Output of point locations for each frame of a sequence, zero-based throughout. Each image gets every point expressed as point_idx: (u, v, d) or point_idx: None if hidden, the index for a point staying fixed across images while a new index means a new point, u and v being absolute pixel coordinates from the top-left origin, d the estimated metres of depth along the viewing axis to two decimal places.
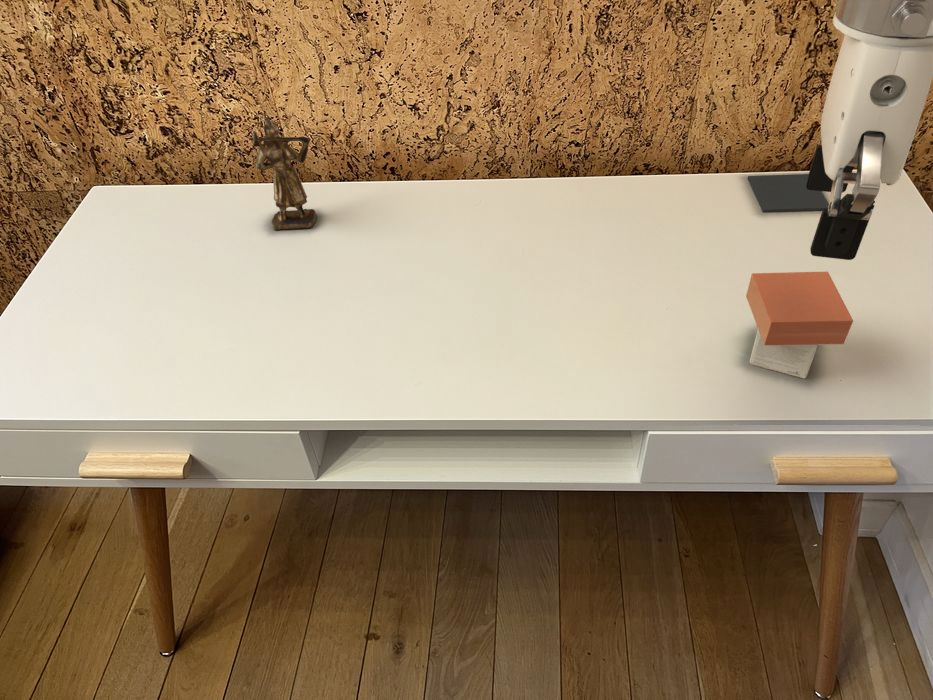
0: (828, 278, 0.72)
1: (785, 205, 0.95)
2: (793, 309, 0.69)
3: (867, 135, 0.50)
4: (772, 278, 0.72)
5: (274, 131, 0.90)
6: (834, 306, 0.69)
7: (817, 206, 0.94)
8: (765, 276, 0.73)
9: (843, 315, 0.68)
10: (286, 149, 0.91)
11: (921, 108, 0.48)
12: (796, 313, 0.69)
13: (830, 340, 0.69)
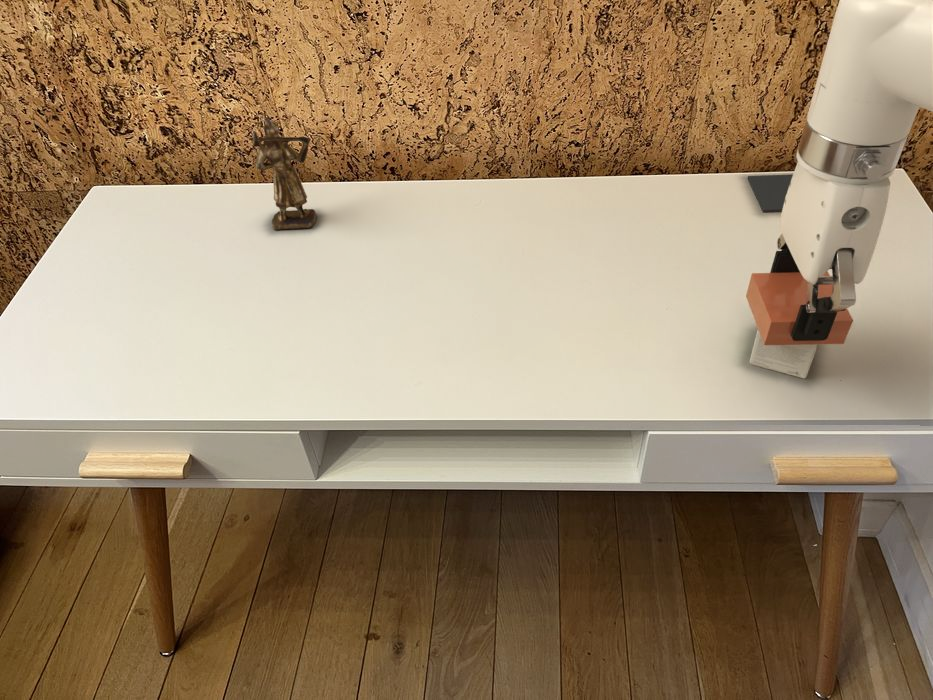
0: None
1: None
2: (793, 309, 0.69)
3: (839, 254, 0.61)
4: (772, 278, 0.72)
5: (274, 131, 0.90)
6: None
7: None
8: (765, 276, 0.73)
9: (843, 315, 0.68)
10: (286, 149, 0.91)
11: (880, 227, 0.59)
12: (796, 313, 0.69)
13: (830, 340, 0.69)
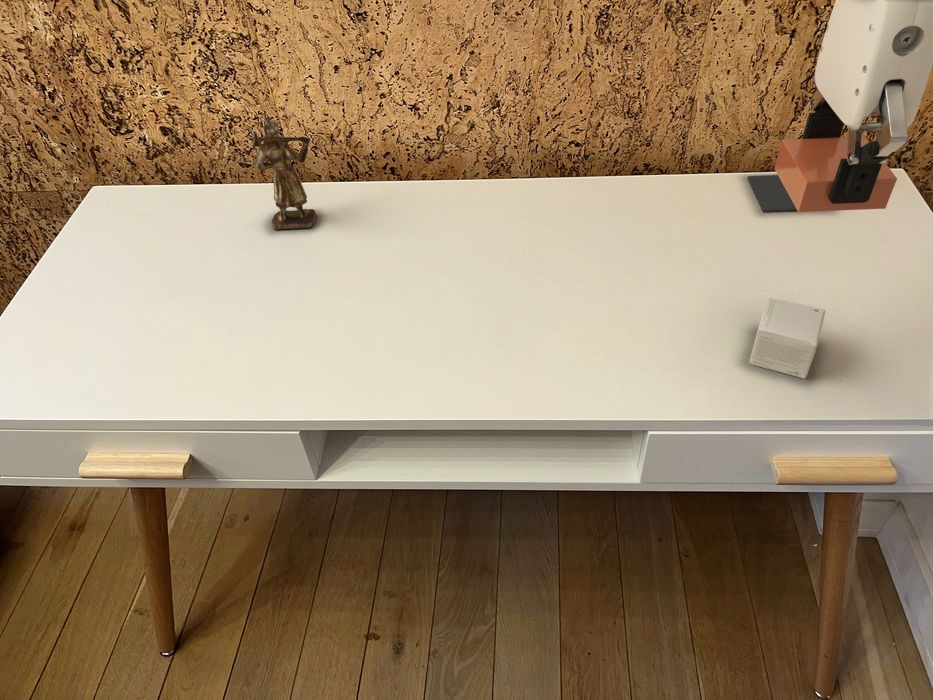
0: (865, 142, 0.66)
1: (785, 205, 0.95)
2: (830, 170, 0.63)
3: (888, 87, 0.55)
4: (804, 143, 0.66)
5: (274, 131, 0.90)
6: None
7: None
8: (796, 142, 0.67)
9: (886, 174, 0.62)
10: (286, 149, 0.91)
11: None
12: (834, 174, 0.62)
13: (871, 204, 0.63)
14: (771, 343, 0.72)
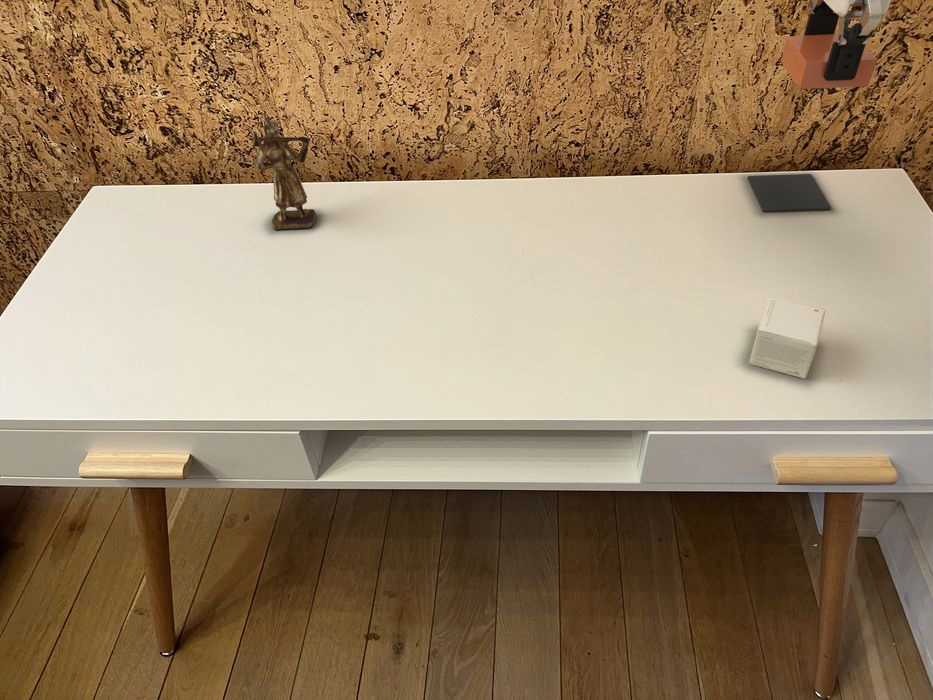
0: None
1: (785, 205, 0.95)
2: (825, 54, 0.80)
3: None
4: (805, 38, 0.83)
5: (274, 131, 0.90)
6: None
7: (817, 206, 0.94)
8: (799, 37, 0.84)
9: (868, 56, 0.79)
10: (286, 149, 0.91)
11: None
12: (828, 57, 0.80)
13: (856, 82, 0.80)
14: (771, 343, 0.72)
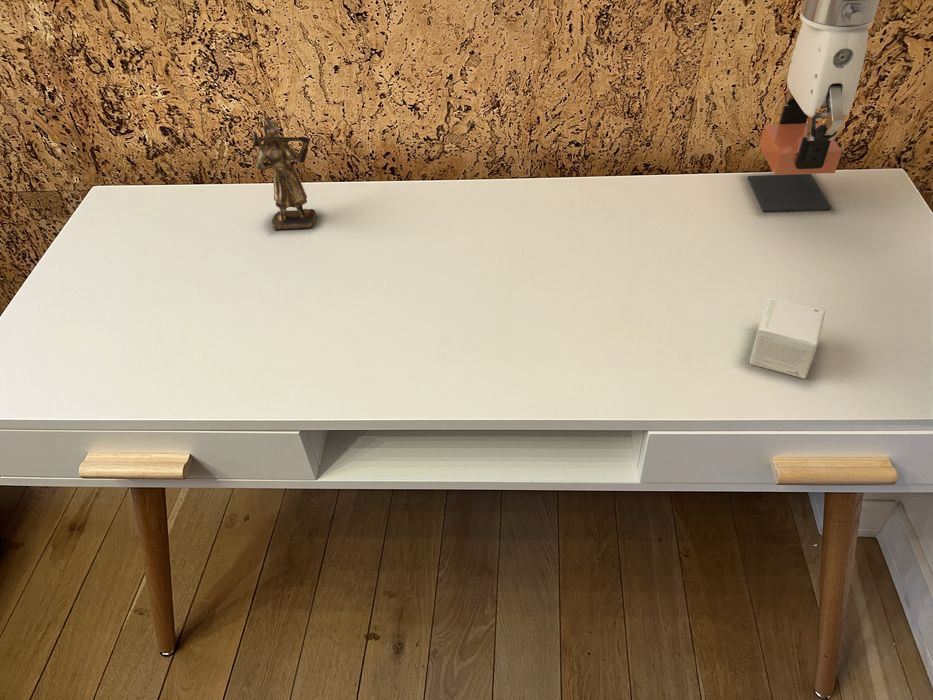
0: None
1: (785, 205, 0.95)
2: (796, 145, 0.90)
3: (831, 88, 0.82)
4: (780, 127, 0.94)
5: (274, 131, 0.90)
6: None
7: (817, 206, 0.94)
8: (774, 126, 0.94)
9: (834, 148, 0.89)
10: (286, 149, 0.91)
11: (861, 66, 0.81)
12: (799, 148, 0.90)
13: (824, 169, 0.91)
14: (771, 343, 0.72)
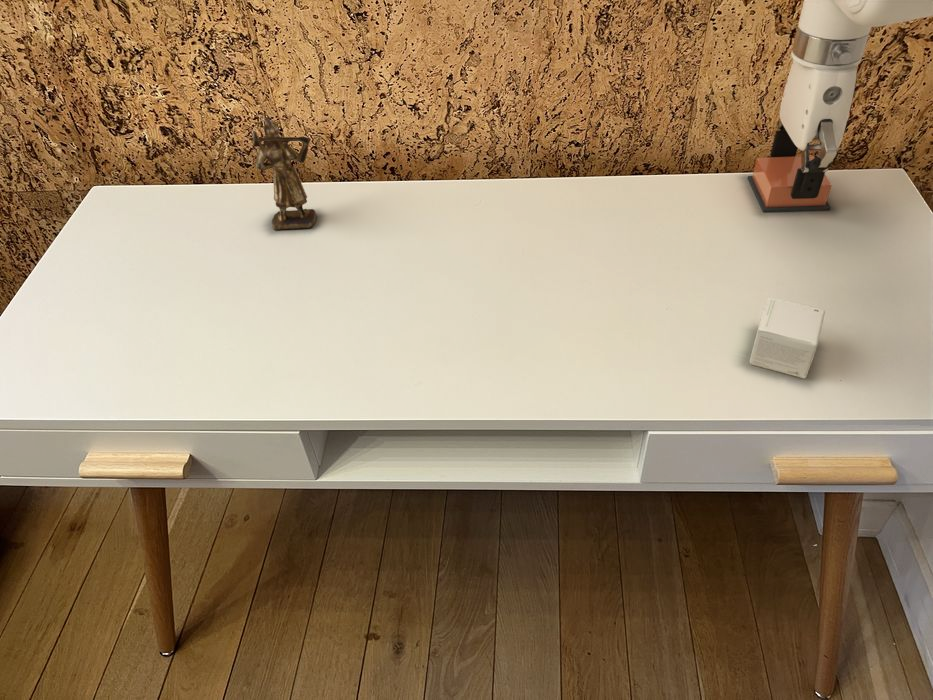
0: None
1: None
2: (788, 179, 0.94)
3: (822, 122, 0.85)
4: (772, 160, 0.97)
5: (274, 131, 0.90)
6: None
7: (817, 206, 0.94)
8: (767, 159, 0.97)
9: (824, 182, 0.93)
10: (286, 149, 0.91)
11: (850, 103, 0.84)
12: (790, 181, 0.93)
13: (815, 202, 0.94)
14: (771, 343, 0.72)
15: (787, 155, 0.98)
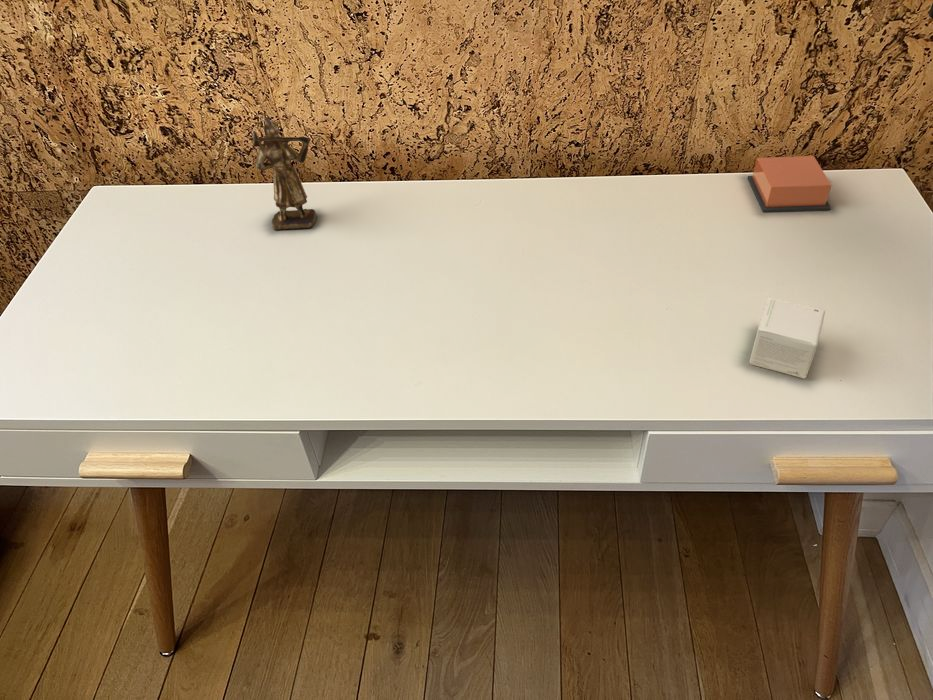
0: (814, 160, 0.97)
1: None
2: (788, 179, 0.94)
3: None
4: (772, 160, 0.97)
5: (274, 131, 0.90)
6: (818, 176, 0.94)
7: (817, 206, 0.94)
8: (767, 159, 0.97)
9: (824, 182, 0.93)
10: (286, 149, 0.91)
11: None
12: (790, 181, 0.93)
13: (815, 202, 0.94)
14: (771, 343, 0.72)
15: None
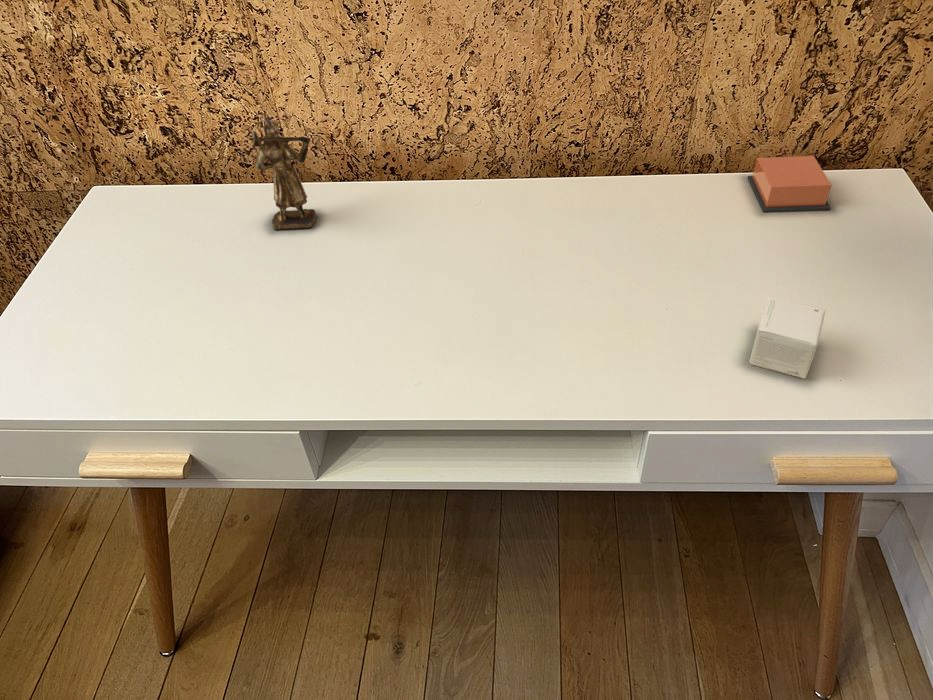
0: (814, 160, 0.97)
1: None
2: (788, 179, 0.94)
3: None
4: (772, 160, 0.97)
5: (274, 131, 0.90)
6: (818, 176, 0.94)
7: (817, 206, 0.94)
8: (767, 159, 0.97)
9: (824, 182, 0.93)
10: (286, 149, 0.91)
11: None
12: (790, 181, 0.93)
13: (815, 202, 0.94)
14: (771, 343, 0.72)
15: None
